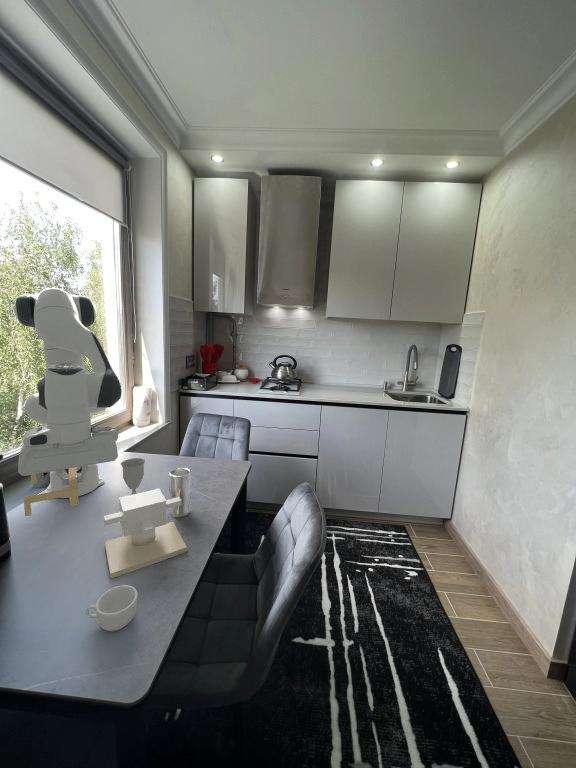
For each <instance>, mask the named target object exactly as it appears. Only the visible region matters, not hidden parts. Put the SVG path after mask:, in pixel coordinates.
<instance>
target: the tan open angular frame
mask: <svg viewBox="0 0 576 768" xmlns="http://www.w3.org/2000/svg"><path fill="white" fill-rule="evenodd" d="M37 483H38V481H37V474H33V475H30V484H31V485H36V484H37ZM68 495H69V505H70V507H74V506H77V505H79V504H80V503H79V496H78V484H77V471H76V467H75V468H69V489H64V490H59V491H54V492H49V493H45V492H43V493H38V494H34V495H31V496H30V495H29V496H24V497H23V508H24V509H23V511H24V517H29V516H32V507H31V506H32V504H33V503H38V502H43V501H49V500H52V499H58V498H59V497H63V496H68Z"/></svg>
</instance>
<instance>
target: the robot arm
mask: <svg viewBox="0 0 576 768" xmlns="http://www.w3.org/2000/svg"><path fill="white" fill-rule="evenodd" d="M13 312H14V315H15V317H16V319H17V320H18V322H19V323H20V324H22V325H23V326H25V327H29V328H35V332H36V334H37V336H38V337H39V339H40V340H41V341H42V342H43V352H44V359H45V367H46V370H45V371H46V372H45V376H44V377H42V379H40V380H39V381H38V382H37V383H36V388H37V392H36V393H33V394H30V395H29V396H28V398H27V399H26V400H25V404H24V411H25V413H26V415H27V417H28V418H29V419H30V420H31V421H34V422H36V423H38V424H40V426H37V427H34V428H31V429H28V430H27V431H26V432H25V433H24V434H23V438H22V443H23V444H22V447H21V448H20V450H19V455H18V456H19V457H18V463H17V464H18V465H17V469H18V474H19V475H20V476H22V477H25V476H26V477H27V476H31V475H33V474H36V475H38V474H43V473H49V485H48V486H47V488H45V491H44V493H49V492H54V491H59V490H64V489H69V468H75V467H76V471H77V484H78V497H79V496H80V497H81V496H83V495H86V494H88V493H90V492H93V491H94V490H95V489H96V488H98V487H100V486H102V485H104V484H105V480H104V479H103V477H102V476H101V475H100V474H99V466H98V465H99V464H105V463H109V462H115V461H117V460H118V457H119V454H118V447H117V441H118V440H119V431H118V429H117V428H115V427H112V426H102V427H92V418H91V416H92V415H95V414H98V413H100V412H104V411H106V409H108V408H111V407H113V406H114V405H115V404H117V403H118V402H119V401H120V400H121V398H122V391H123V390H122V385H121V382H120V380H119V377H118V375H117V374H116V373H115V371H114V369H113V368H112V365H111V363H110V361H109V360H108V357H107V354H106V352H105V351H104V348H103V346H102V344H101V342H100V340H99V338H98V336H97V334H96V333H95V332H94V331H92V330H90V329H88V328H89V327H91V326H92V325H93V324H94V323H95V320H96V317H97V309H96V305H95V303H94V302H93V300H92V299H91V298H90V297H88V296H85V295H80V294H79V295H75V294H70V293H69V292H68V291H65V290H64V289H61V288H58V287H56V288H55V287H47V288H44V289H42V290H41V291H39V293H37V294H35V293H34V294H32V293H25V294H20V295H19V296H17V297H16V298H15V302H14V303H13ZM84 357H86V358H87V359H88V360H89V363H90V365H91V367H92V370H93V372H87V370H86V367H85V362H84ZM58 498H61V499H68V498H69V495H68V496H63V497H58Z"/></svg>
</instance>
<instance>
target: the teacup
mask: <svg viewBox="0 0 576 768" xmlns="http://www.w3.org/2000/svg"><path fill="white" fill-rule="evenodd" d="M137 606H138V590H137V589H136V588H135V587H134V586H132V585H129V584H128V585H127V584H123V585H118V586H113V587H112V588H110V589H107V590H106V591H105V592H103V593H102V594H101V595H100V596H99V597H98V598H97V600H96V602H95V604H91V605H89V606H87V608H86V610H85V614H86V615H87V617H90V618H93V619H96V620H97V622H98V625H99V627H101V628H102V629H103V630H105V631H107V632H115V631H119V630H121V629H123V628H125V627H126V626H127V625H128V624H129V623H130V622H131V621H132V619H133V618H134V616H135V613H136V610H137V608H138V607H137ZM90 609H93V610H94V611H95V613H91V612H89V610H90Z"/></svg>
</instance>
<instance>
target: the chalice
mask: <svg viewBox="0 0 576 768" xmlns="http://www.w3.org/2000/svg"><path fill="white" fill-rule="evenodd" d="M145 463H146V459H145V458H142V457H141V458H138V457H136V458H128V459H125V460H123V461H122V462H121V463H120V466H121V468H122V479H123V480H124V483H125V484H126V486H127V487H128V489H129V490H132V492H131V494H130V495H133V494H137V491H136V490H137V489H138V488H139V487H140V485H141V484H142V481H143V479H144V475H145V469H144V467H145Z"/></svg>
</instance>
